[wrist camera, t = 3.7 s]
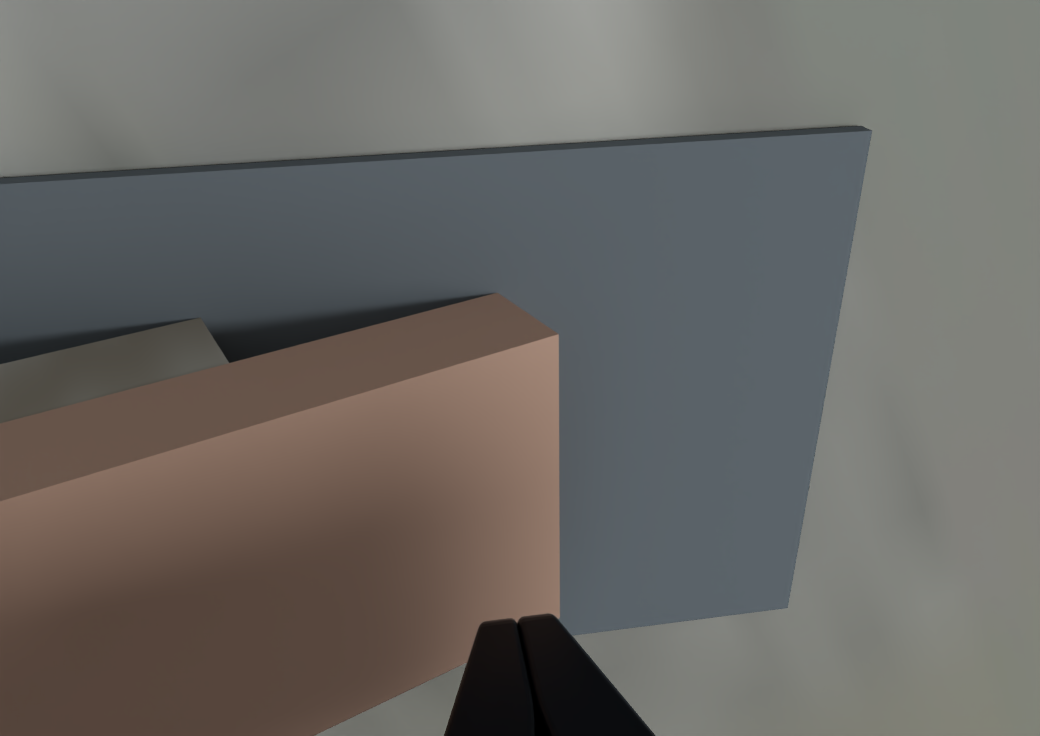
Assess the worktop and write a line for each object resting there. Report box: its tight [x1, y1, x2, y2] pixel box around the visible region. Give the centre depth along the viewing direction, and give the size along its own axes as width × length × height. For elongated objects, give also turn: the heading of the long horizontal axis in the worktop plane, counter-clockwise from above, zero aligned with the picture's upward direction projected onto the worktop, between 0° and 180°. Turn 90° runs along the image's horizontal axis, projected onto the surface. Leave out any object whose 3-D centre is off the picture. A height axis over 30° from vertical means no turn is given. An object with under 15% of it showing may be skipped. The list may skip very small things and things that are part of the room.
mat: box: [0, 126, 872, 635], centre depth 12 cm, size 25×9×1 cm, turn 91°
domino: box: [0, 293, 560, 736], centre depth 11 cm, size 2×5×8 cm
